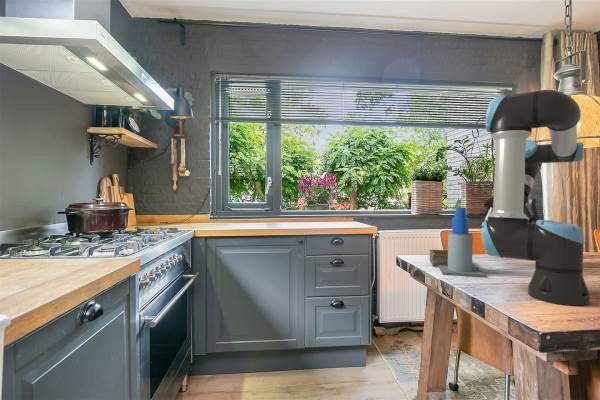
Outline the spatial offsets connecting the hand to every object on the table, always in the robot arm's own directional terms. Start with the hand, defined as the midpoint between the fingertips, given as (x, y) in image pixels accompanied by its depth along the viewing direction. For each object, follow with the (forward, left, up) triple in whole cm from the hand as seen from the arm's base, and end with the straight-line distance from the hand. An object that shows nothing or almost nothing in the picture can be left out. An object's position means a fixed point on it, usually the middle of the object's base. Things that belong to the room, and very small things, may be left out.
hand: (503, 227), depth 141 cm
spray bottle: (-8, +17, -17) cm, 26 cm away
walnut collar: (+6, +20, -18) cm, 27 cm away
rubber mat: (-8, +17, -18) cm, 26 cm away
